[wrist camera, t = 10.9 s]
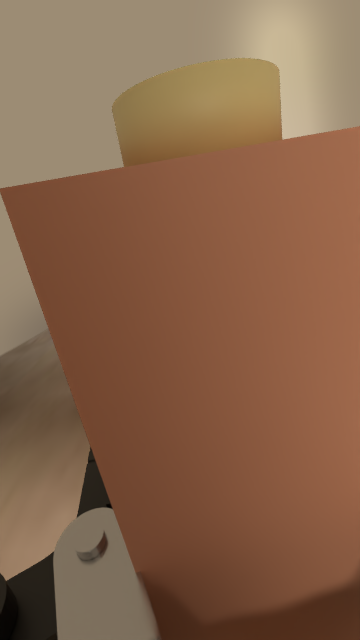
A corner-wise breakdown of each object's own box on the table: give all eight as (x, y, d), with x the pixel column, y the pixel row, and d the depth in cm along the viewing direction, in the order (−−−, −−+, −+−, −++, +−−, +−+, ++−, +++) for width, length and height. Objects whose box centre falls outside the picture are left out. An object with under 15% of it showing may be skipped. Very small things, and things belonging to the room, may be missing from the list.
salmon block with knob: (216, 802, 8) (-52, 42, 2) (189, 597, 12) (70, 149, 6) (377, 751, 8) (505, -37, 3) (296, 569, 12) (275, 116, 7)
